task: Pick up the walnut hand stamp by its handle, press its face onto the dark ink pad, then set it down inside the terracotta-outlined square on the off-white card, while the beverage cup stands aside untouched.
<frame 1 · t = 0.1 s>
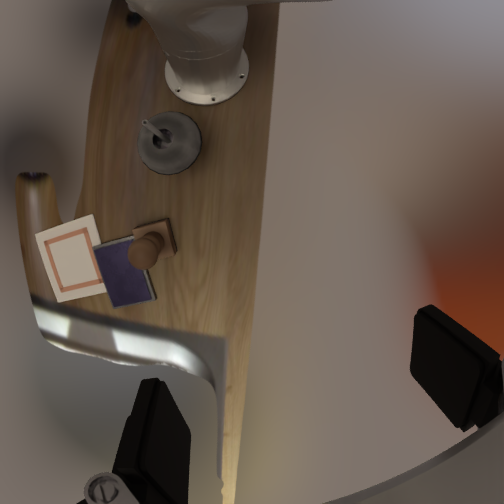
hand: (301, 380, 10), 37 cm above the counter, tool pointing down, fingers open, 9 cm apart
print card: (73, 260, 44), on the counter
stamp: (157, 238, 44), on the counter
ink pad: (124, 272, 45), on the counter
beverage cup: (182, 150, 41), on the counter
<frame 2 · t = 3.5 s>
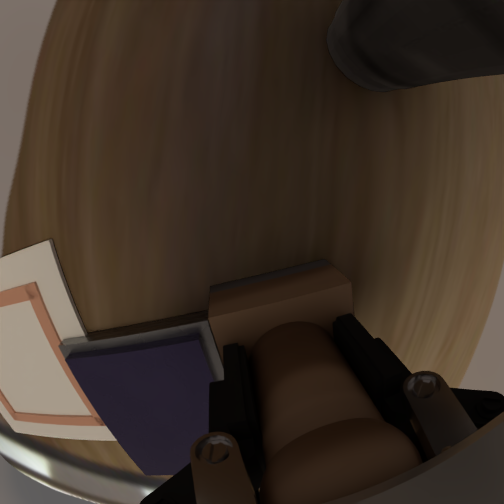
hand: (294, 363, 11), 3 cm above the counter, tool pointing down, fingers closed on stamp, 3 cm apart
print card: (21, 364, 13), on the counter
stamp: (278, 323, 14), on the counter, touching gripper
ink pad: (167, 407, 14), on the counter
beverage cup: (368, 51, 11), on the counter
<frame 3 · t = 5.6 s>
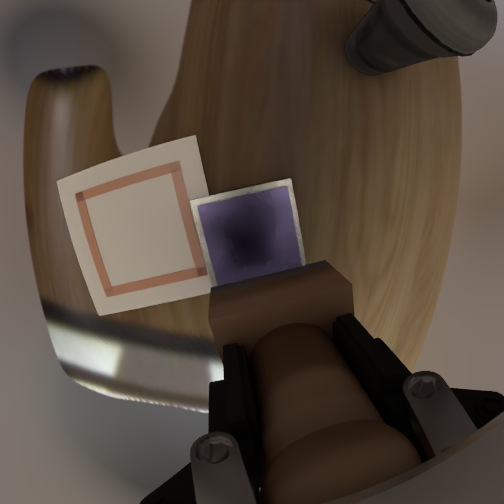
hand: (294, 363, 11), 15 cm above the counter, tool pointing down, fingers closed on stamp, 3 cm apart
print card: (138, 232, 24), on the counter
stamp: (279, 324, 14), point 12 cm above the counter, touching gripper
ink pad: (254, 252, 25), on the counter
beverage cup: (365, 55, 21), on the counter
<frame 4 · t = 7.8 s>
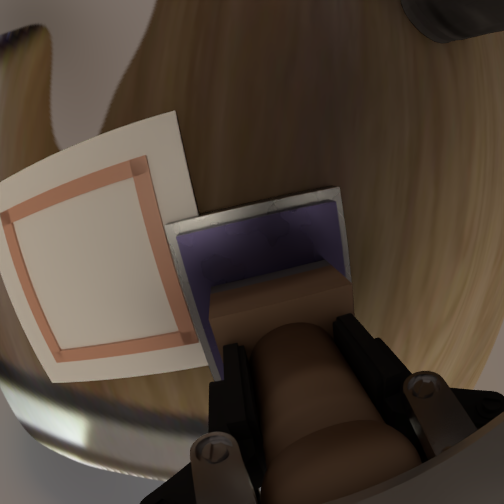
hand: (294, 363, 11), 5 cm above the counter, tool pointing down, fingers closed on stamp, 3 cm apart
print card: (89, 274, 14), on the counter
stamp: (279, 323, 14), point 2 cm above the counter, touching gripper, ink pad
ink pad: (273, 307, 15), on the counter
beverage cup: (427, 15, 12), on the counter
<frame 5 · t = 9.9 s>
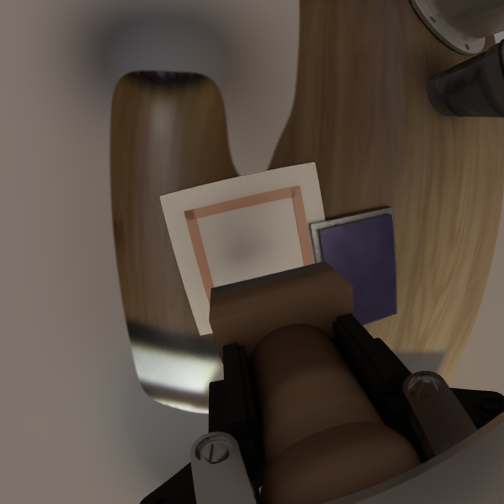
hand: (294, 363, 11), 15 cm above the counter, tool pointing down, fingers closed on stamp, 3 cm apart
print card: (254, 252, 25), on the counter
stamp: (279, 324, 14), point 12 cm above the counter, touching gripper
ink pad: (356, 271, 27), on the counter
beverage cup: (441, 96, 23), on the counter
when the fingers open (4 cm above the counter, at t = 12.1 s): stamp stays where it is, resting on print card.
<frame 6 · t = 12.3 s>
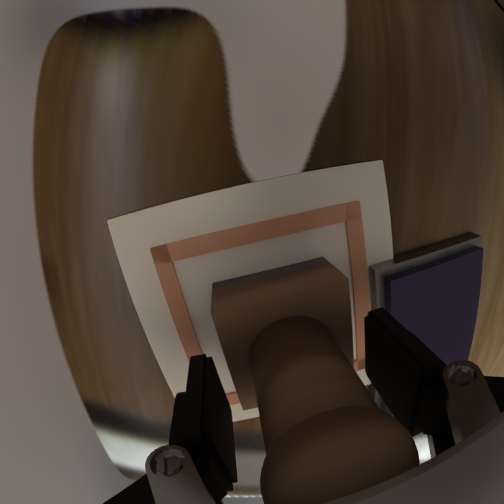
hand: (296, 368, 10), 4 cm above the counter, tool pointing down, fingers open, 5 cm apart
print card: (276, 316, 14), on the counter
stamp: (278, 319, 14), resting on print card
ink pad: (423, 329, 16), on the counter
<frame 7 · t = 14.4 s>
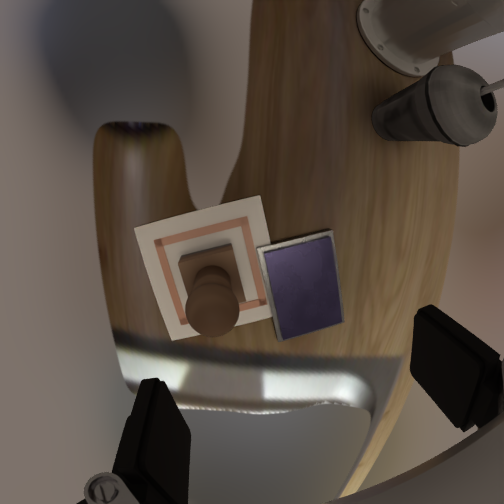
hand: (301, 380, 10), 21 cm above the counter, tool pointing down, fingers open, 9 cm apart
print card: (211, 272, 30), on the counter
stamp: (212, 273, 30), resting on print card
ink pad: (302, 285, 32), on the counter
beverage cup: (387, 122, 29), on the counter
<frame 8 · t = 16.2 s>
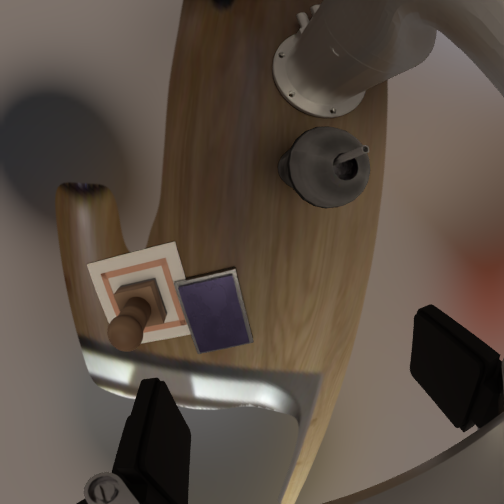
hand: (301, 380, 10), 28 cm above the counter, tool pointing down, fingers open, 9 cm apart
print card: (143, 298, 38), on the counter
stamp: (143, 299, 37), resting on print card
ink pad: (215, 311, 39), on the counter
beverage cup: (295, 168, 36), on the counter
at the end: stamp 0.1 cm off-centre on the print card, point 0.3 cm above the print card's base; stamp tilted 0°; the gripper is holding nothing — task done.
